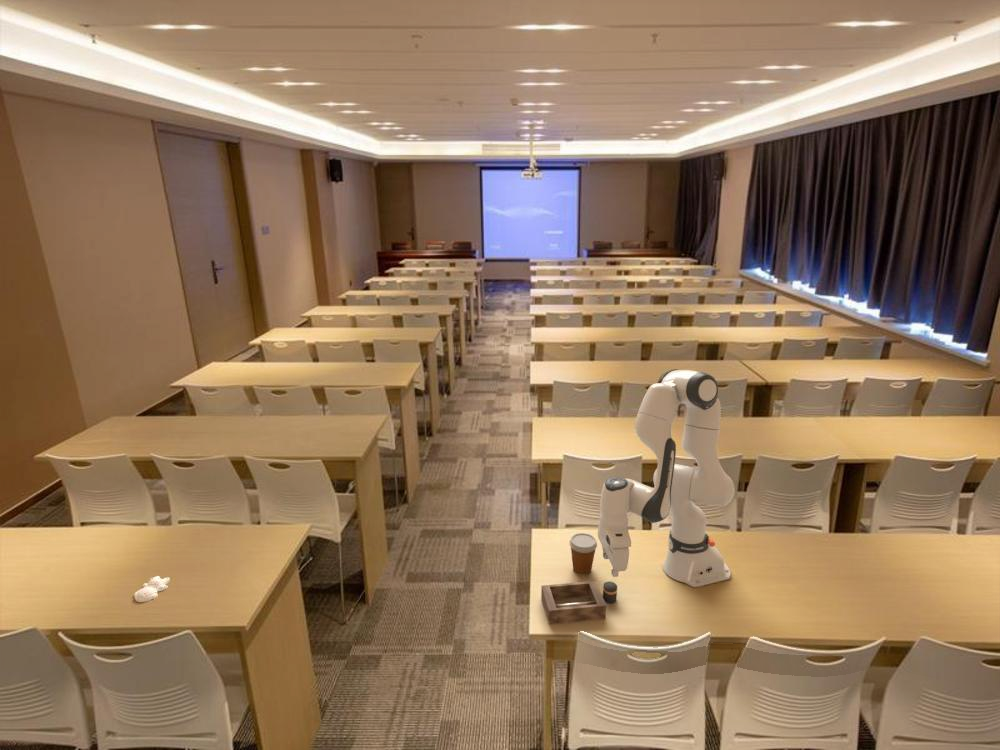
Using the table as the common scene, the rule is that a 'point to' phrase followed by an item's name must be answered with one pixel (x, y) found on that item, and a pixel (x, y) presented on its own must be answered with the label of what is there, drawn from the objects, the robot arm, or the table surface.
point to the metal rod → (575, 604)
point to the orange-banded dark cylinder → (609, 592)
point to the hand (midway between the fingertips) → (610, 566)
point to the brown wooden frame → (573, 612)
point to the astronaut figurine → (151, 589)
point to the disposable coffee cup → (582, 552)
